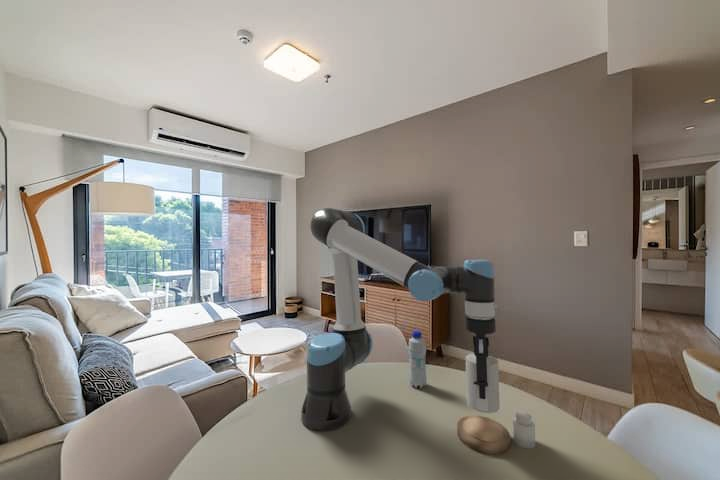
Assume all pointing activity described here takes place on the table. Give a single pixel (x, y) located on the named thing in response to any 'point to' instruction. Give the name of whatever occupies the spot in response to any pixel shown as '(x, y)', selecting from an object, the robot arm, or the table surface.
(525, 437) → the white knobbed rounded part
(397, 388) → the table surface
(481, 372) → the robot arm
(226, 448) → the table surface
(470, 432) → the brown wooden plate
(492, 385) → the white cylindrical piece
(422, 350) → the bottle
